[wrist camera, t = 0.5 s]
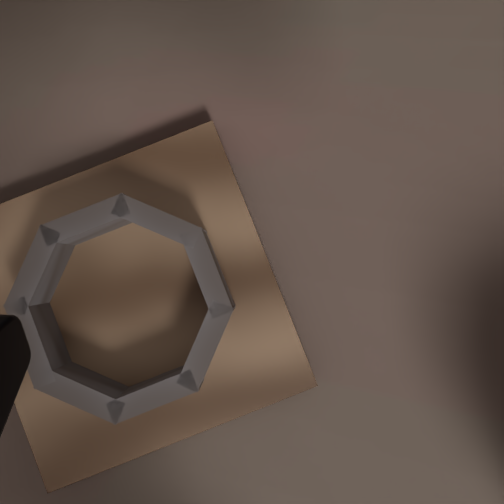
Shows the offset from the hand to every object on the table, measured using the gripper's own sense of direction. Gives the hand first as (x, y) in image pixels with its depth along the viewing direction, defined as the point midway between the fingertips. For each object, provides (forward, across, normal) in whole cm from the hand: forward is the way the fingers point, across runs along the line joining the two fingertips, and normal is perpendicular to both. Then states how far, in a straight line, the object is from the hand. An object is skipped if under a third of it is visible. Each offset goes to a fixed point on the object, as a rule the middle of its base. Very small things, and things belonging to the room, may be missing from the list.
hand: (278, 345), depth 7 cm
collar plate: (+12, +7, +8) cm, 16 cm away
